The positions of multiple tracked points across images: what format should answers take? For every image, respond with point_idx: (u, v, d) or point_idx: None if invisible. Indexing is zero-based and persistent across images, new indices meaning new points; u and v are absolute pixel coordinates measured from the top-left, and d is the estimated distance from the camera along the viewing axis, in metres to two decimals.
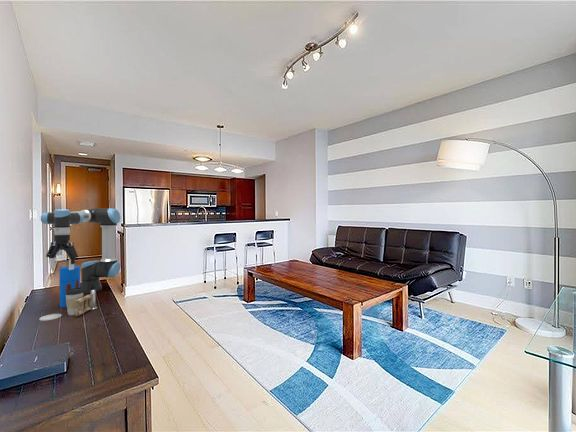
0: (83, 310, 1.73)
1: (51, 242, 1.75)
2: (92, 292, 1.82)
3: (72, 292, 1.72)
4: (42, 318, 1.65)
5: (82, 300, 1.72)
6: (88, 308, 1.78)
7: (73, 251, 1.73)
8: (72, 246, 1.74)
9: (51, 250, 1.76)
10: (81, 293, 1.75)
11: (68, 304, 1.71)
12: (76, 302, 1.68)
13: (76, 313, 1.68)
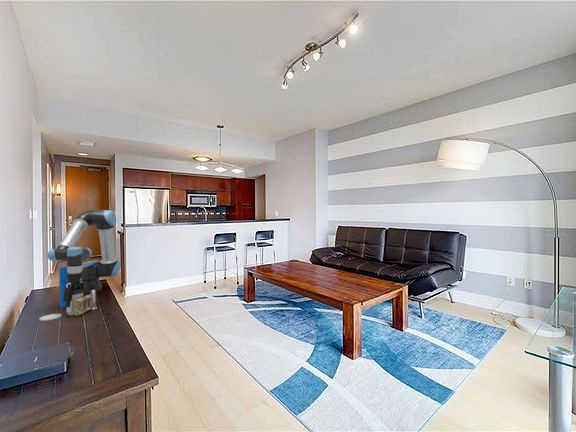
0: (83, 310, 1.73)
1: None
2: (92, 292, 1.82)
3: None
4: (42, 318, 1.65)
5: (82, 300, 1.72)
6: (88, 308, 1.78)
7: (65, 294, 1.68)
8: (66, 289, 1.68)
9: (80, 287, 1.81)
10: (81, 293, 1.75)
11: None
12: (76, 302, 1.68)
13: (76, 313, 1.68)
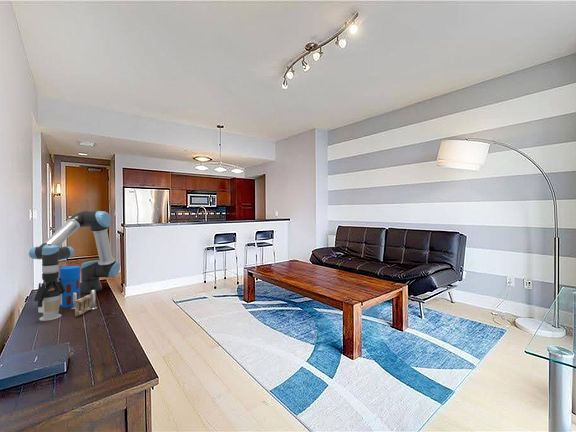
0: (83, 310, 1.73)
1: (56, 278, 1.74)
2: (92, 292, 1.82)
3: (48, 295, 1.64)
4: (42, 318, 1.65)
5: (82, 300, 1.72)
6: (88, 308, 1.78)
7: (37, 293, 1.59)
8: (40, 288, 1.60)
9: (58, 286, 1.75)
10: (57, 296, 1.68)
11: None
12: (76, 302, 1.68)
13: (76, 313, 1.68)
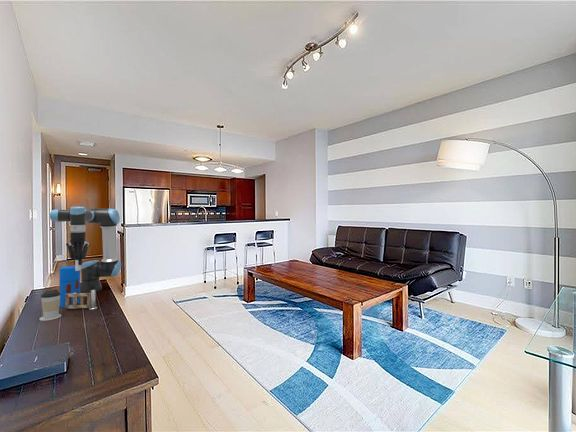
0: (75, 306, 1.81)
1: (66, 243, 1.73)
2: (92, 292, 1.82)
3: (48, 295, 1.64)
4: (42, 318, 1.65)
5: (73, 296, 1.81)
6: (83, 306, 1.82)
7: (85, 252, 1.75)
8: (86, 247, 1.75)
9: (71, 250, 1.74)
10: (57, 296, 1.68)
11: (43, 307, 1.64)
12: None
13: None
